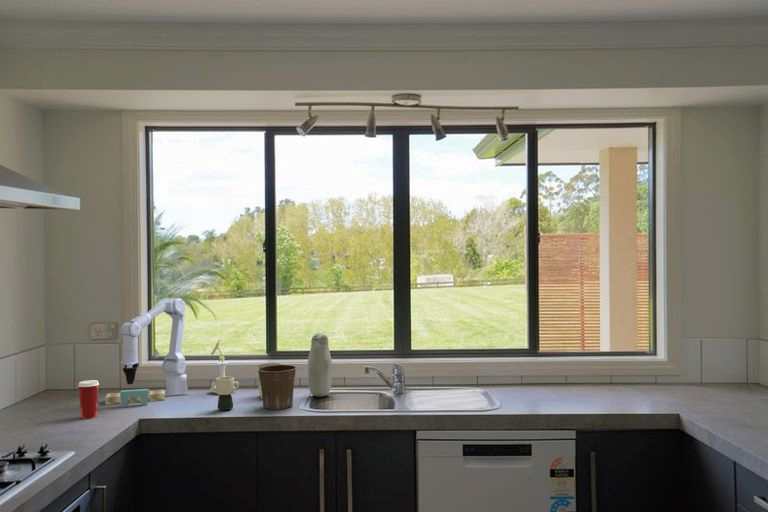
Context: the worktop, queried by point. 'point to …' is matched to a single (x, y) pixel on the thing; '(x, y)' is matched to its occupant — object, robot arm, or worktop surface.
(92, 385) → the paper cup
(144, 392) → the staple
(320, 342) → the white tall rounded figure
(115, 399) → the tan segmented bar
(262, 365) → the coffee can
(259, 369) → the plant pot
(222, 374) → the flower in vase
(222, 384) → the character mug
